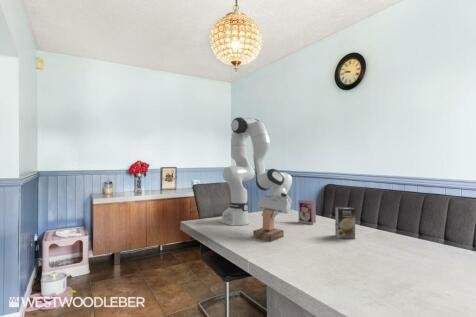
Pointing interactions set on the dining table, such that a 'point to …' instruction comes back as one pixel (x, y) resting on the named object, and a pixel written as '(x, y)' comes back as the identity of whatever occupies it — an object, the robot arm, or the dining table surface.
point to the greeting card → (307, 211)
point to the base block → (268, 234)
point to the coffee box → (345, 222)
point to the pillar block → (268, 220)
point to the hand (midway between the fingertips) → (267, 216)
